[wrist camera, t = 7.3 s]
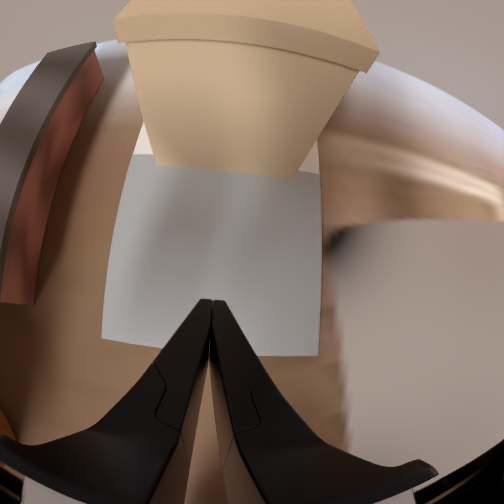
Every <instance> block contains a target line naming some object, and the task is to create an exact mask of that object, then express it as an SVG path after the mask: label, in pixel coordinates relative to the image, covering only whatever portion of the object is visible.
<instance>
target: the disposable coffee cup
mask: <svg viewBox="0 0 504 504" xmlns="http://www.w3.org/2000/svg"><path fill="white" fill-rule="evenodd" d="M0 434H4V435H6V436H8V437H10V438H12V439H13V440H15V441H16V439H15V436H14V433H13V431H12V428H11V426H10V424H9V422H8V420H7V418H6V417H5V415H4V413H3V412H2V410H1V409H0ZM5 465H6V464H4V463H3V462H1V461H0V466H1V467H4V466H5Z"/></svg>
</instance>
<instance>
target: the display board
mask: <svg viewBox="0 0 504 504" xmlns="http://www.w3.org/2000/svg"><path fill="white" fill-rule="evenodd" d="M321 279H322V215H321V184H320V174H319V157H318V142H317V140H316V142H315V143H314V145H313V146H312V148H311V150H310V151H309V153H308V155H307V156H306V158H305V159H304V161H303V163H302V164H301V166H300V168H299V169H298V171H297V172H296V174H295V176H294V177H293V179H285V178H278V177H271V176H264V175H257V174H249V173H240V172H232V171H222V170H212V169H201V168H189V167H174V166H157V165H156V162H155V158H154V155H153V152H152V148H151V145H150V141H149V138H148V134H147V131H146V127H145V124H144V122H143V125H142V128H141V131H140V134H139V137H138V140H137V143H136V147H135V150H134V153H133V155H132V158H131V161H130V165H129V168H128V172H127V176H126V179H125V183H124V187H123V191H122V195H121V199H120V204H119V208H118V213H117V218H116V223H115V228H114V233H113V238H112V244H111V250H110V256H109V263H108V270H107V278H106V287H105V296H104V307H103V321H102V338H104V339H109V340H114V341H120V342H125V343H131V344H137V345H144V346H151V347H158V348H163V347H164V346H165V345H166V343H167V342H168V341H169V339H170V338H171V337H172V335H173V334H174V333H175V331H176V330H177V329H178V327H179V326H180V325H181V323H182V322H183V321H184V319H185V318H186V317H187V316H188V314H189V313H190V312H191V310H192V309H193V308H194V306H195V305H196V304H197V302H198V301H199V300H200V299H201V298H204V299H212V301H213V300H215V299H216V300H224V301H226V303H227V305H228V306H229V308H230V310H231V312H232V314H233V315H234V317H235V319H236V321H237V322H238V324H239V326H240V328H241V329H242V331H243V333H244V335H245V336H246V338H247V340H248V341H249V343H250V345H251V347H252V348H253V350H254V352H255V353H256V355H257V356H318V345H319V329H320V309H321ZM212 305H213V303H212ZM209 350H210V349H209Z"/></svg>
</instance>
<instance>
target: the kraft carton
mask: <svg viewBox="0 0 504 504" xmlns="http://www.w3.org/2000/svg"><path fill="white" fill-rule="evenodd" d="M113 21H114V26H115V31H116V36H117V40H118V43H121V42H125V44H126V49H127V54H128V58H129V63H130V67H131V72H132V76H133V80H134V85H135V89H136V93H137V97H138V101H139V105H140V109H141V112H142V116H143V120H144V124H145V127H146V131H147V134H148V138H149V141H150V145H151V148H152V152H153V155H154V158H155V162H156V165H157V166H174V167H189V168H201V169H212V170H222V171H232V172H240V173H249V174H257V175H264V176H271V177H278V178H285V179H293V177H294V176H295V174H296V172H297V171H298V169H299V168H300V166H301V164H302V163H303V161H304V159H305V158H306V156H307V155H308V153H309V151H310V150H311V148H312V146H313V145H314V143H315V142H316V140H317V138H318V137H319V135H320V134H321V132H322V130H323V129H324V127H325V125H326V124H327V122H328V121H329V119H330V117H331V116H332V114H333V113H334V111H335V109H336V108H337V106H338V105H339V103H340V101H341V100H342V98H343V96H344V95H345V93H346V92H347V90H348V88H349V87H350V85H351V84H352V82H353V80H354V79H355V77H356V76H357V74H358V72H359V71H362V72H365V73H367V71H368V70H369V68H370V67H371V65H372V64H373V62H374V61H375V59H376V57H377V56H378V54H379V53H380V52H379V50H378V48H377V46H376V44H375V42H374V40H373V38H372V37H371V35H370V33H369V31H368V29H367V27H366V26H365V24H364V22H363V20H362V19H361V17H360V15H359V14H358V12H357V11H356V9H355V7H354V6H353V4H352V3H351V1H350V0H132V1H131V2H130V3H129V4H128V5H127V6H126V7H125V8H124V9H123V10H122V11H121V12H120V13H119V14H118V15H117V16H116V17H115V18H114V19H113Z"/></svg>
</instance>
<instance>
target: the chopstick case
mask: <svg viewBox="0 0 504 504" xmlns="http://www.w3.org/2000/svg"><path fill="white" fill-rule="evenodd" d="M96 47H97V46H96V42H90V43H85V44H81V45H76V46H72V47H67V48H64V49H60V50H56V51H53V52H50V53H47V54H46V56H45V57H44V58H43V59H42V61H41V62H40V63H39V64H38V66H37V67H36V68H35V70H34V71H33V73H32V74H31V75H30V77H29V78H28V80H27V81H26V83H25V84H24V85H23V87H22V89H21V90H20V92H19V93H18V95H17V96H16V98H15V100H14V101H13V103H12V105H11V106H10V108H9V110H8V111H7V113H6V115H5V117H4V119H3V120H2V122H1V124H0V302H4V303H13V304H22V305H32V306H34V297H35V287H36V278H37V271H38V264H39V258H40V252H41V247H42V241H43V236H44V232H45V227H46V223H47V219H48V215H49V211H50V207H51V203H52V200H53V196H54V193H55V190H56V186H57V183H58V180H59V177H60V174H61V171H62V168H63V166H64V163H65V160H66V157H67V155H68V152H69V150H70V147H71V145H72V142H73V140H74V137H75V135H76V133H77V130H78V128H79V126H80V124H81V122H82V119H83V117H84V115H85V113H86V111H87V109H88V107H89V105H90V103H91V101H92V99H93V97H94V95H95V94H96V92H97V90H98V88H99V86H100V85H101V83H102V81H103V79H104V78H103V75H102V72H101V69H100V66H99V63H98V60H97V57H96V54H95V50H94V49H95V48H96Z"/></svg>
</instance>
